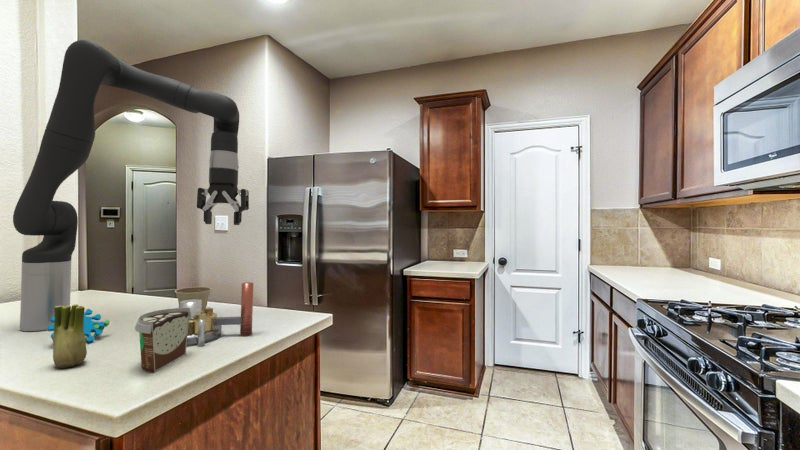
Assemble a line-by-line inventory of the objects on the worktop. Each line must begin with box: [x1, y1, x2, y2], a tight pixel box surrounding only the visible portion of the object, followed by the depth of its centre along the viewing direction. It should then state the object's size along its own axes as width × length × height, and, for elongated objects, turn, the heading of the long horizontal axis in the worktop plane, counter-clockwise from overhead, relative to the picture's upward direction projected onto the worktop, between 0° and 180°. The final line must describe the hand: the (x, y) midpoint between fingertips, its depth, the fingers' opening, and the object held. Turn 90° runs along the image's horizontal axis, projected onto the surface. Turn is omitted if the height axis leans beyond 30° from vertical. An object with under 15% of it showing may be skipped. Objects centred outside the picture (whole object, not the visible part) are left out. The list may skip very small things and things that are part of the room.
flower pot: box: [174, 286, 212, 311], centre depth 104 cm, size 9×9×9 cm
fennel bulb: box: [52, 303, 88, 369], centre depth 70 cm, size 6×5×12 cm
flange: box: [180, 299, 223, 348], centre depth 87 cm, size 16×14×9 cm
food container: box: [134, 307, 191, 374], centre depth 72 cm, size 12×6×10 cm, turn 178°
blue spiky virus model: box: [46, 308, 111, 344], centre depth 83 cm, size 11×6×10 cm
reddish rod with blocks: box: [188, 281, 254, 337], centre depth 89 cm, size 20×11×13 cm, turn 104°
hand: (222, 224), depth 102 cm, fingers open, 8 cm apart
